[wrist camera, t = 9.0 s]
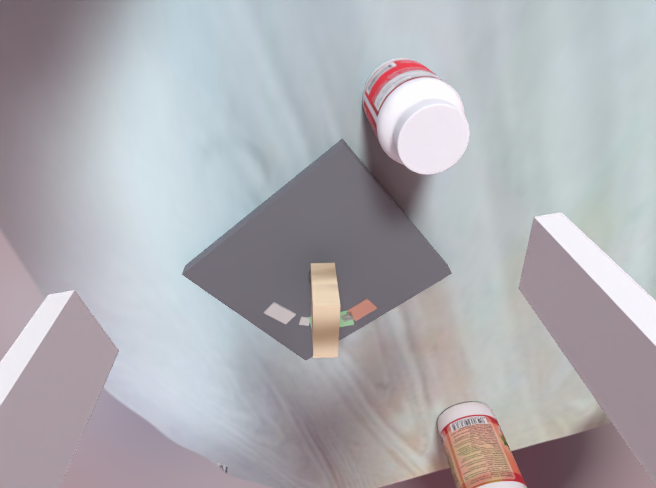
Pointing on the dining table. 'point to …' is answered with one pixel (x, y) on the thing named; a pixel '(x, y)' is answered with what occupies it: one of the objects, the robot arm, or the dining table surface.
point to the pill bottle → (415, 116)
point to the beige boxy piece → (324, 309)
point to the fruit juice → (477, 448)
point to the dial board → (319, 252)
